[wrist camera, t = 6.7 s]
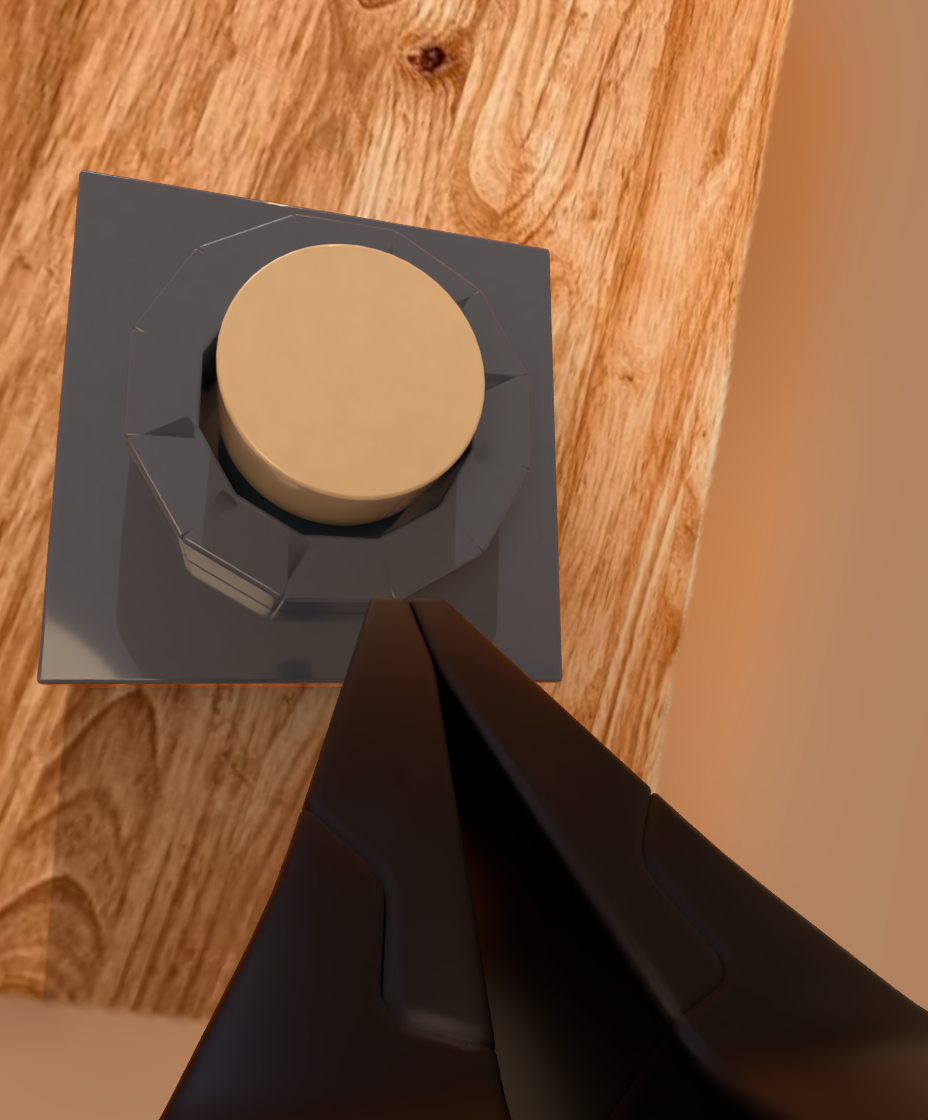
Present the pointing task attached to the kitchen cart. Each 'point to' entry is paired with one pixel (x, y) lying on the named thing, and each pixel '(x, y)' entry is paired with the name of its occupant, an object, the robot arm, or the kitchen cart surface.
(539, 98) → the kitchen cart surface
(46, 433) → the kitchen cart surface
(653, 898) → the robot arm
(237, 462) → the tan push button
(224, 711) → the kitchen cart surface
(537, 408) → the grey button base
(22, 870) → the kitchen cart surface
